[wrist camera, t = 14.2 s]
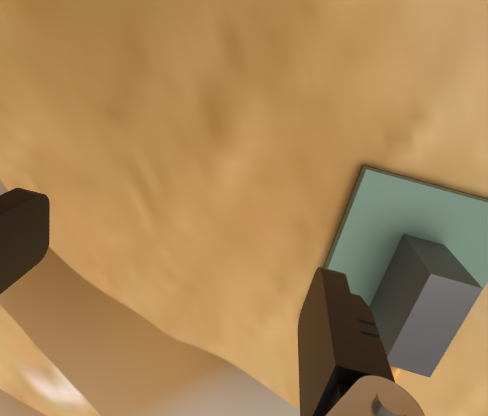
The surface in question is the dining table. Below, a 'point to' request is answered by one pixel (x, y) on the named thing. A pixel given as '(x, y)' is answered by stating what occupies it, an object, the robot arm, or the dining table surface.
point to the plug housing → (421, 304)
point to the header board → (406, 228)
